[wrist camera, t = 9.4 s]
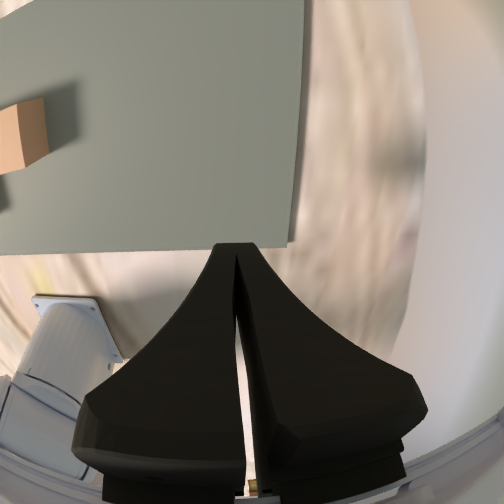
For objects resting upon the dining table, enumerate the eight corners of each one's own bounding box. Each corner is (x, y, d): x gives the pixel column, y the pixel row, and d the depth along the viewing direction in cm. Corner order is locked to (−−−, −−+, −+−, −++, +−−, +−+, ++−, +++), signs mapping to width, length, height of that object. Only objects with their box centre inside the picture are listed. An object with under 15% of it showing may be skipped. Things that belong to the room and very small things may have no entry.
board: (285, 243, 21) (286, 247, 20) (-38, 253, 18) (-41, 256, 17) (302, -36, 10) (304, -40, 9) (-72, 79, 6) (-76, 81, 6)
